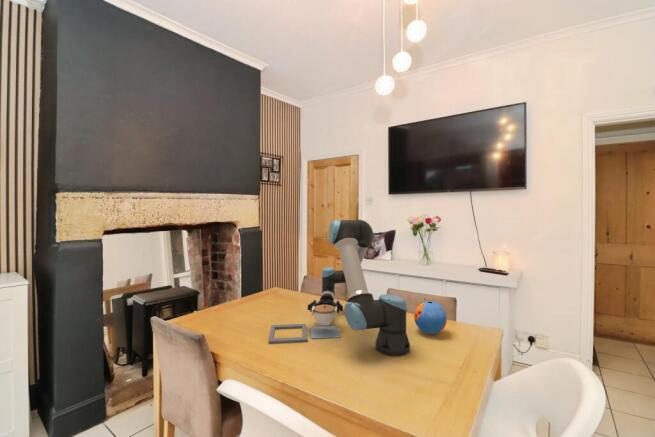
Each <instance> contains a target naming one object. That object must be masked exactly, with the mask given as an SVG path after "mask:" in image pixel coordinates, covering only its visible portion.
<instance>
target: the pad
mask: <svg viewBox="0 0 655 437" xmlns="http://www.w3.org/2000/svg"><path fill="white" fill-rule="evenodd" d="M309 330H310V336H311V337H310V338H311V340H321V339H324V340H325V339H341V338H342V336H341V333H340V331H339V328H338V325H326V326H323V325H321V326H310V327H309Z"/></svg>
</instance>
